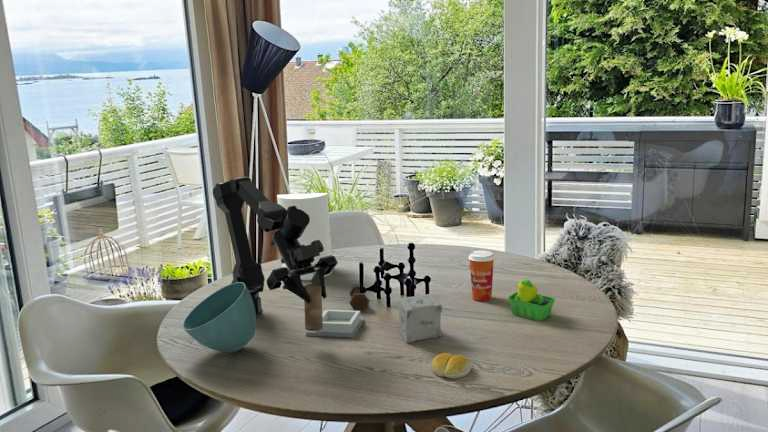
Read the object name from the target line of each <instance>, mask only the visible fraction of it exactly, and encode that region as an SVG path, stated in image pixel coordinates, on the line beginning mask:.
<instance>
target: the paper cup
mask: <svg viewBox="0 0 768 432" xmlns="http://www.w3.org/2000/svg"><path fill="white" fill-rule="evenodd" d="M494 255H495V254H494V253H493V252H492V251H488V250H475V251H471V253H469V256H468V260H469V270H470V281H471V293H472V294H471V295H472V300H473V301H476V302H483V303H484V302H488V301H491V300H492V296H493V295H492V293H493V281H494V279H493V276H494V261H495V259H496V257H495V256H494Z"/></svg>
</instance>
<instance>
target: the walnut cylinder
mask: <svg viewBox="0 0 768 432" xmlns="http://www.w3.org/2000/svg"><path fill="white" fill-rule="evenodd" d="M303 286H304V288H305V289H306V291H307V293H308V295H309V297H310V299H311V302H310V303H307V302H306V301H304V300H303V301H304V302H303V303H304V325H305V326H304V327H305V330H306V331H307V330H308V331H319V330H321V329H322V328H323V320H322V313H323V300H322V299H323V297H322V289H321V285H319V284H313V283H309V284H306V285H303Z"/></svg>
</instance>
